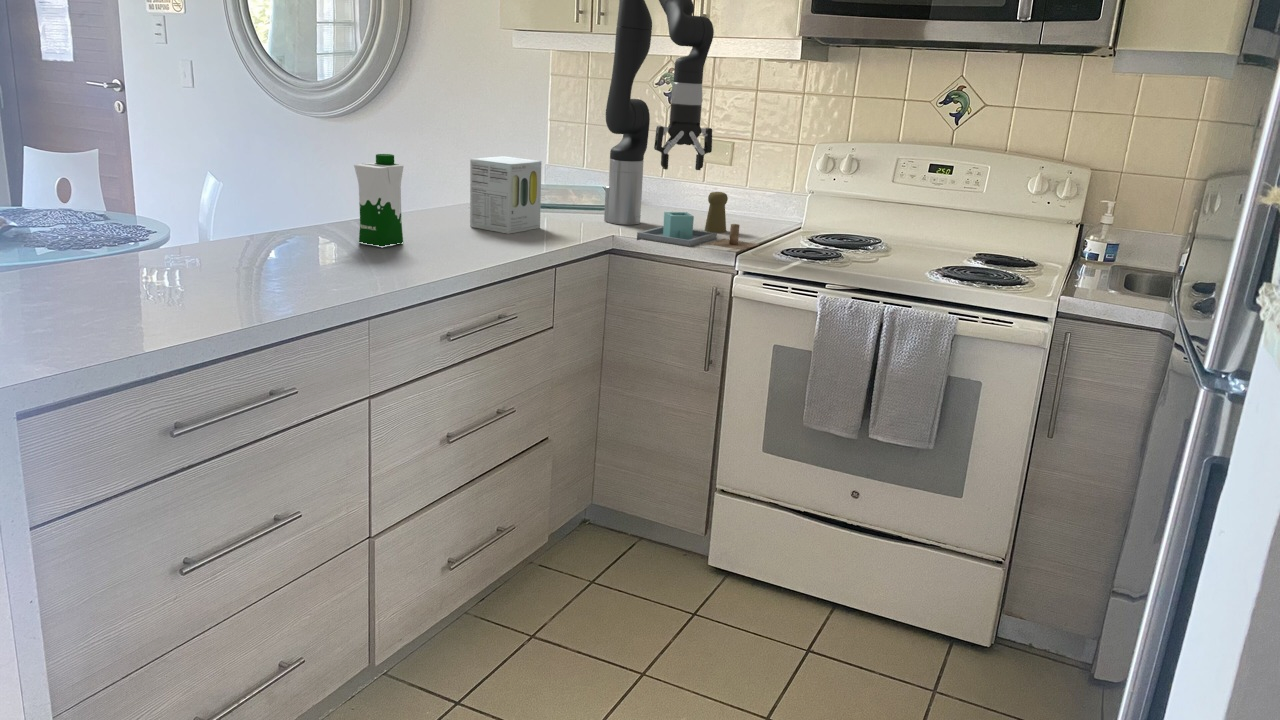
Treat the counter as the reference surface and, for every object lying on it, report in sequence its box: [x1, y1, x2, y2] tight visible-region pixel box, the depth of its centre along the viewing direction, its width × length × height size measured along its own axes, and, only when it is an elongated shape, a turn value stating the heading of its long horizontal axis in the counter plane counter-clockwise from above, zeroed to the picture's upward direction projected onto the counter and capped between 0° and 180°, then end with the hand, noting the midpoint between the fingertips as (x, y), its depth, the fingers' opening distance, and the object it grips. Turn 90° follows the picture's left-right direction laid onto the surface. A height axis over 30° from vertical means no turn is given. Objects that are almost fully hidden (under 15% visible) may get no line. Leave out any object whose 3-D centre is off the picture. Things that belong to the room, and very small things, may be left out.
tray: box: [636, 225, 718, 248], centre depth 239 cm, size 15×15×2 cm
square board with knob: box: [707, 223, 760, 251], centre depth 235 cm, size 10×10×6 cm
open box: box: [663, 211, 695, 240], centre depth 237 cm, size 8×6×6 cm
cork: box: [704, 191, 729, 234], centre depth 251 cm, size 6×6×11 cm
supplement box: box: [469, 155, 542, 235], centre depth 241 cm, size 13×13×18 cm
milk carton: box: [353, 153, 404, 246], centre depth 212 cm, size 9×9×20 cm
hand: (681, 169), depth 233 cm, fingers open, 8 cm apart
